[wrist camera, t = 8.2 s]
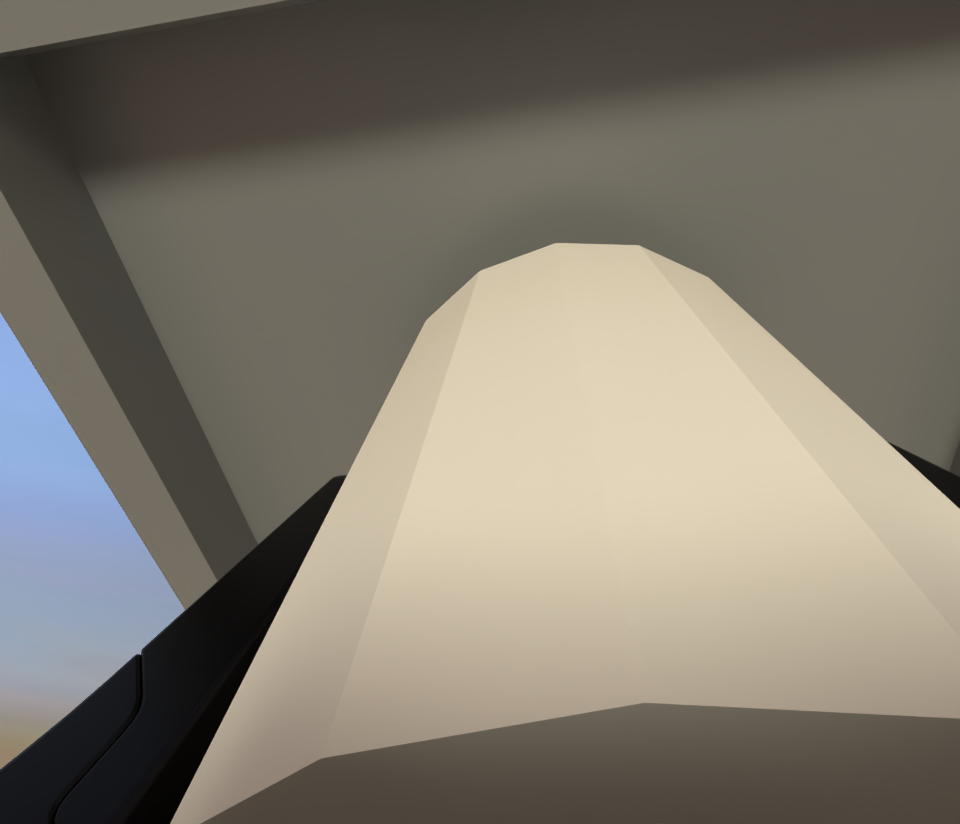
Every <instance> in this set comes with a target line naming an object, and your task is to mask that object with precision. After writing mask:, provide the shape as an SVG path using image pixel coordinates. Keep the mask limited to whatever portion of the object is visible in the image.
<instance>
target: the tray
mask: <svg viewBox="0 0 960 824" xmlns="http://www.w3.org/2000/svg"><path fill="white" fill-rule="evenodd" d="M554 243H578V244H614V245H639V246H642V247H644V248H646V249H648V250H650V251H652V252H655V253H657V254H659V255H661V256H663V257H665V258H668V259H670V260H672V261H674V262H676V263H678V264H681V265H683V266H685V267H687V268H689V269H691V270H694V271H696V272H698V273H700V274H702V275H704V276H707V277H709V278H710V279H711V280H712V281H713V282H714V283H715V284H716V285H717V286H718V287H720V288H721V289H722V290H723V291H724V292H725V293H726V294H727V295H728V296H729V297H730V298H732V299H733V300H734V301H735V302H736V303H737V304H738V305H739V306H740V307H741V308H742V309H743V310H745V311H746V312H747V313H748V314H749V315H750V316H751V317H752V318H753V319H754V320H755V321H756V322H758V323H759V324H760V325H761V326H762V327H763V328H764V329H765V330H766V331H767V332H768V333H769V334H771V335H772V336H773V337H774V338H775V339H776V340H777V341H778V342H779V343H780V344H781V345H782V346H784V347H785V348H786V349H787V350H788V351H789V352H790V353H791V354H792V355H793V356H794V357H795V358H797V359H798V360H799V361H800V362H801V363H802V364H803V365H804V366H805V367H806V368H807V369H808V370H810V371H811V372H812V373H813V374H814V375H815V376H816V377H817V378H818V379H819V380H820V381H821V382H823V383H824V384H825V385H826V386H827V387H828V388H829V389H830V390H831V391H832V392H833V393H834V394H836V395H837V396H838V397H839V398H840V399H841V400H842V401H843V402H844V403H845V404H846V405H847V406H849V407H850V408H851V409H852V410H853V411H854V412H855V413H856V414H857V415H858V416H859V417H861V418H862V419H863V420H864V421H865V422H866V423H867V424H868V425H869V426H870V427H871V428H872V429H874V430H875V431H876V432H877V433H878V434H879V435H880V436H881V437H882V438H883V439H884V440H886V441H888V442H890V443H892V444H894V445H896V446H898V447H900V448H902V449H904V450H906V451H908V452H910V453H912V454H914V455H916V456H919V457H921V458H923V459H925V460H927V461H929V462H931V463H933V464H935V465H937V466H939V467H941V468H943V469H945V470H947V471H949V472H951V473H953V474H955V475H957V476H959V477H960V0H0V312H1V314H2V316H3V317H4V319H5V320H6V322H7V324H8V325H9V327H10V328H11V330H12V332H13V333H14V335H15V336H16V338H17V340H18V341H19V343H20V344H21V346H22V348H23V349H24V351H25V353H26V354H27V356H28V357H29V359H30V361H31V362H32V364H33V365H34V367H35V369H36V370H37V372H38V373H39V375H40V377H41V378H42V380H43V382H44V383H45V385H46V386H47V388H48V390H49V391H50V393H51V394H52V396H53V398H54V399H55V401H56V402H57V404H58V406H59V407H60V409H61V411H62V412H63V414H64V415H65V417H66V419H67V420H68V422H69V423H70V425H71V427H72V428H73V430H74V431H75V433H76V435H77V436H78V438H79V440H80V441H81V443H82V444H83V446H84V448H85V449H86V451H87V452H88V454H89V456H90V457H91V459H92V460H93V462H94V464H95V465H96V467H97V469H98V470H99V472H100V473H101V475H102V477H103V478H104V480H105V481H106V483H107V485H108V486H109V488H110V489H111V491H112V493H113V494H114V496H115V498H116V499H117V501H118V502H119V504H120V506H121V507H122V509H123V510H124V512H125V514H126V515H127V517H128V518H129V520H130V522H131V523H132V525H133V527H134V528H135V530H136V531H137V533H138V535H139V536H140V538H141V539H142V541H143V543H144V544H145V546H146V547H147V549H148V551H149V552H150V554H151V555H152V557H153V559H154V560H155V562H156V564H157V565H158V567H159V568H160V570H161V572H162V573H163V575H164V576H165V578H166V580H167V581H168V583H169V584H170V586H171V588H172V589H173V591H174V593H175V594H176V596H177V597H178V599H179V601H180V602H181V604H182V605H183V607H184V609H185V610H186V609H187V608H188V607H189V606H191V605H192V604H193V603H194V602H195V601H196V600H197V599H198V598H199V597H201V596H202V595H203V594H204V593H205V592H206V591H207V590H208V589H209V588H211V587H212V586H213V585H214V584H215V583H216V582H217V581H218V580H219V579H221V578H222V577H223V576H224V575H225V574H226V573H227V572H228V571H229V570H231V569H232V568H233V567H234V566H235V565H236V564H237V563H238V562H239V561H240V560H242V559H243V558H244V557H245V556H246V555H247V554H248V553H249V552H250V551H252V550H253V549H254V548H255V547H256V546H257V545H258V544H259V543H260V542H262V541H263V540H264V539H265V538H266V537H267V536H268V535H269V534H270V533H272V532H273V531H274V530H275V529H276V528H277V527H278V526H279V525H280V524H282V523H283V522H284V521H285V520H286V519H287V518H288V517H289V516H290V515H292V514H293V513H294V512H295V511H296V510H297V509H298V508H299V507H300V506H301V505H303V504H304V503H305V502H306V501H307V500H308V499H309V498H310V497H311V496H313V495H314V494H315V493H316V492H317V491H318V490H319V489H320V488H321V487H323V486H324V485H325V484H326V483H327V482H328V481H329V480H330V479H332V478H333V477H335V476H340V475H348V473H349V471H350V469H351V467H352V465H353V463H354V461H355V459H356V457H357V455H358V453H359V451H360V449H361V447H362V445H363V443H364V441H365V439H366V437H367V435H368V433H369V431H370V429H371V427H372V426H373V424H374V422H375V420H376V418H377V416H378V414H379V412H380V410H381V408H382V406H383V404H384V402H385V400H386V398H387V396H388V394H389V392H390V390H391V388H392V386H393V384H394V382H395V380H396V378H397V376H398V374H399V372H400V370H401V368H402V366H403V365H404V363H405V361H406V359H407V357H408V355H409V353H410V351H411V349H412V347H413V345H414V343H415V341H416V339H417V337H418V335H419V333H420V331H421V329H422V327H423V325H424V323H425V321H426V320H427V319H428V318H429V317H430V316H431V315H432V314H433V313H435V312H436V311H437V310H438V309H439V308H440V307H441V306H442V305H443V304H444V303H445V302H447V301H448V300H449V299H450V298H451V297H452V296H453V295H454V294H455V293H456V292H457V291H458V290H460V289H461V288H462V287H463V286H464V285H465V284H466V283H467V282H468V281H469V280H470V279H472V278H473V277H474V276H475V275H476V274H477V273H478V272H479V271H481V270H483V269H486V268H489V267H492V266H494V265H497V264H500V263H503V262H505V261H508V260H511V259H513V258H516V257H519V256H522V255H524V254H527V253H530V252H533V251H535V250H538V249H541V248H543V247H546V246H549V245H552V244H554Z"/></svg>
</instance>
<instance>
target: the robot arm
mask: <svg viewBox="0 0 960 824" xmlns="http://www.w3.org/2000/svg"><path fill="white" fill-rule="evenodd" d="M885 441H886V440H885ZM887 442H888V441H887ZM888 443H889V444H890V445H891V446H892V447H893V448H894V449H895V450H896V451H897V452H898V453H900V454H901V455H902V456H903V457H904V458H905V459H906V460H907V461H908V462H909V463H910V464H911V465H913V466H914V467H915V468H916V469H917V470H918V471H919V472H920V473H921V474H922V475H923V476H924V477H926V478H927V479H928V480H929V481H930V482H931V483H932V484H933V485H934V486H935V487H936V488H937V489H939V490H940V491H941V492H942V493H943V494H944V495H945V496H946V497H947V498H948V499H949V500H950V501H952V502H953V503H954V504H955V505H956V506H957V507H958V508H959V509H960V477H959V476H957V475H955V474H953V473H951V472H949V471H947V470H945V469H943V468H941V467H939V466H937V465H935V464H933V463H931V462H929V461H927V460H925V459H923V458H921V457H919V456H916V455H914V454H912V453H910V452H908V451H906V450H904V449H902V448H900V447H898V446H896V445H894V444H892V443H890V442H888ZM346 477H347V475H340V476H335V477H333V478H332V479H330V480H329V481H328V482H327V483H326V484H325V485H324V486H323V487H321V488H320V489H319V490H318V491H317V492H316V493H315V494H314V495H313V496H311V497H310V498H309V499H308V500H307V501H306V502H305V503H304V504H303V505H301V506H300V507H299V508H298V509H297V510H296V511H295V512H294V513H293V514H292V515H290V516H289V517H288V518H287V519H286V520H285V521H284V522H283V523H282V524H280V525H279V526H278V527H277V528H276V529H275V530H274V531H273V532H272V533H270V534H269V535H268V536H267V537H266V538H265V539H264V540H263V541H262V542H260V543H259V544H258V545H257V546H256V547H255V548H254V549H253V550H252V551H250V552H249V553H248V554H247V555H246V556H245V557H244V558H243V559H242V560H240V561H239V562H238V563H237V564H236V565H235V566H234V567H233V568H232V569H231V570H229V571H228V572H227V573H226V574H225V575H224V576H223V577H222V578H221V579H219V580H218V581H217V582H216V583H215V584H214V585H213V586H212V587H211V588H209V589H208V590H207V591H206V592H205V593H204V594H203V595H202V596H201V597H199V598H198V599H197V600H196V601H195V602H194V603H193V604H192V605H191V606H189V607H188V608H187V609H186V610H185V611H184V612H183V613H182V614H181V615H179V616H178V617H177V618H176V619H175V620H174V621H173V622H172V623H171V624H169V625H168V626H167V627H166V628H165V629H164V630H163V631H162V632H161V633H159V634H158V635H157V636H156V637H155V638H154V639H153V640H152V641H151V642H149V643H148V644H147V645H146V646H145V647H144V648H143V649H142V651H141V655H140V654H137V655H135V656H134V657H133V658H132V659H130V660H129V661H128V662H127V663H126V664H125V665H124V666H123V667H122V668H120V669H119V670H118V671H117V672H116V673H115V674H114V675H113V676H112V677H110V678H109V679H108V680H107V681H106V682H105V683H104V684H102V685H101V686H100V687H99V688H98V689H97V690H96V691H94V692H93V693H92V694H91V695H90V696H89V697H87V698H86V699H85V700H84V701H83V702H82V703H81V704H79V705H78V706H77V707H76V708H75V709H74V710H73V711H71V712H70V713H69V714H68V715H67V716H66V717H64V718H63V719H62V720H61V721H59V722H58V723H57V724H56V725H55V726H53V727H52V728H51V729H50V730H48V731H47V732H46V733H45V734H44V735H42V736H41V737H40V738H39V739H37V740H36V741H35V742H34V743H33V744H31V745H30V746H29V747H28V748H26V749H25V750H24V751H23V752H22V753H20V754H19V755H18V756H17V757H15V758H14V759H13V760H12V761H10V762H9V763H8V764H7V765H6V766H4V767H3V768H2V769H0V824H170V823H171V821H172V819H173V817H174V815H175V813H176V811H177V809H178V807H179V805H180V803H181V801H182V799H183V797H184V795H185V793H186V791H187V789H188V787H189V786H190V784H191V782H192V780H193V778H194V776H195V774H196V772H197V770H198V768H199V766H200V764H201V762H202V760H203V758H204V756H205V754H206V752H207V750H208V748H209V746H210V744H211V742H212V740H213V738H214V736H215V734H216V732H217V730H218V728H219V726H220V725H221V723H222V721H223V719H224V717H225V715H226V713H227V711H228V709H229V707H230V705H231V703H232V701H233V699H234V697H235V695H236V693H237V691H238V689H239V687H240V685H241V683H242V681H243V679H244V677H245V675H246V673H247V671H248V669H249V667H250V666H251V664H252V662H253V660H254V658H255V656H256V654H257V652H258V650H259V648H260V646H261V644H262V642H263V640H264V638H265V636H266V634H267V632H268V630H269V628H270V626H271V624H272V622H273V620H274V618H275V616H276V614H277V612H278V610H279V608H280V606H281V605H282V603H283V601H284V599H285V597H286V595H287V593H288V591H289V589H290V587H291V585H292V583H293V581H294V579H295V577H296V575H297V573H298V571H299V569H300V567H301V565H302V563H303V561H304V559H305V557H306V555H307V553H308V551H309V549H310V547H311V546H312V544H313V542H314V540H315V538H316V536H317V534H318V532H319V530H320V528H321V526H322V524H323V522H324V520H325V518H326V516H327V514H328V512H329V510H330V508H331V506H332V504H333V502H334V500H335V498H336V496H337V494H338V492H339V490H340V488H341V486H342V485H343V483H344V481H345V479H346Z"/></svg>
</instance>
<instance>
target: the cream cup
mask: <svg viewBox="0 0 960 824" xmlns="http://www.w3.org/2000/svg"><path fill="white" fill-rule="evenodd" d="M170 824H960V509H959V508H958V507H957V506H956V505H955V504H954V503H953V502H952V501H950V500H949V499H948V498H947V497H946V496H945V495H944V494H943V493H942V492H941V491H940V490H939V489H937V488H936V487H935V486H934V485H933V484H932V483H931V482H930V481H929V480H928V479H927V478H926V477H924V476H923V475H922V474H921V473H920V472H919V471H918V470H917V469H916V468H915V467H914V466H913V465H911V464H910V463H909V462H908V461H907V460H906V459H905V458H904V457H903V456H902V455H901V454H900V453H898V452H897V451H896V450H895V449H894V448H893V447H892V446H891V445H890V444H889V443H888V442H887V441H885V440H884V439H883V438H882V437H881V436H880V435H879V434H878V433H877V432H876V431H875V430H874V429H872V428H871V427H870V426H869V425H868V424H867V423H866V422H865V421H864V420H863V419H862V418H861V417H859V416H858V415H857V414H856V413H855V412H854V411H853V410H852V409H851V408H850V407H849V406H847V405H846V404H845V403H844V402H843V401H842V400H841V399H840V398H839V397H838V396H837V395H836V394H834V393H833V392H832V391H831V390H830V389H829V388H828V387H827V386H826V385H825V384H824V383H823V382H821V381H820V380H819V379H818V378H817V377H816V376H815V375H814V374H813V373H812V372H811V371H810V370H808V369H807V368H806V367H805V366H804V365H803V364H802V363H801V362H800V361H799V360H798V359H797V358H795V357H794V356H793V355H792V354H791V353H790V352H789V351H788V350H787V349H786V348H785V347H784V346H782V345H781V344H780V343H779V342H778V341H777V340H776V339H775V338H774V337H773V336H772V335H771V334H769V333H768V332H767V331H766V330H765V329H764V328H763V327H762V326H761V325H760V324H759V323H758V322H756V321H755V320H754V319H753V318H752V317H751V316H750V315H749V314H748V313H747V312H746V311H745V310H743V309H742V308H741V307H740V306H739V305H738V304H737V303H736V302H735V301H734V300H733V299H732V298H730V297H729V296H728V295H727V294H726V293H725V292H724V291H723V290H722V289H721V288H720V287H718V286H717V285H716V284H715V283H714V282H713V281H712V280H711V279H710V278H709V277H707V276H704V275H702V274H700V273H698V272H696V271H694V270H691V269H689V268H687V267H685V266H683V265H681V264H678V263H676V262H674V261H672V260H670V259H668V258H665V257H663V256H661V255H659V254H657V253H655V252H652V251H650V250H648V249H646V248H644V247H642V246H639V245H614V244H578V243H554V244H552V245H549V246H546V247H543V248H541V249H538V250H535V251H533V252H530V253H527V254H524V255H522V256H519V257H516V258H513V259H511V260H508V261H505V262H503V263H500V264H497V265H494V266H492V267H489V268H486V269H483V270H481V271H479V272H478V273H477V274H476V275H475V276H474V277H473V278H472V279H470V280H469V281H468V282H467V283H466V284H465V285H464V286H463V287H462V288H461V289H460V290H458V291H457V292H456V293H455V294H454V295H453V296H452V297H451V298H450V299H449V300H448V301H447V302H445V303H444V304H443V305H442V306H441V307H440V308H439V309H438V310H437V311H436V312H435V313H433V314H432V315H431V316H430V317H429V318H428V319H427V320H426V321H425V323H424V325H423V327H422V329H421V331H420V333H419V335H418V337H417V339H416V341H415V343H414V345H413V347H412V349H411V351H410V353H409V355H408V357H407V359H406V361H405V363H404V365H403V366H402V368H401V370H400V372H399V374H398V376H397V378H396V380H395V382H394V384H393V386H392V388H391V390H390V392H389V394H388V396H387V398H386V400H385V402H384V404H383V406H382V408H381V410H380V412H379V414H378V416H377V418H376V420H375V422H374V424H373V426H372V427H371V429H370V431H369V433H368V435H367V437H366V439H365V441H364V443H363V445H362V447H361V449H360V451H359V453H358V455H357V457H356V459H355V461H354V463H353V465H352V467H351V469H350V471H349V473H348V475H347V477H346V479H345V481H344V483H343V485H342V486H341V488H340V490H339V492H338V494H337V496H336V498H335V500H334V502H333V504H332V506H331V508H330V510H329V512H328V514H327V516H326V518H325V520H324V522H323V524H322V526H321V528H320V530H319V532H318V534H317V536H316V538H315V540H314V542H313V544H312V546H311V547H310V549H309V551H308V553H307V555H306V557H305V559H304V561H303V563H302V565H301V567H300V569H299V571H298V573H297V575H296V577H295V579H294V581H293V583H292V585H291V587H290V589H289V591H288V593H287V595H286V597H285V599H284V601H283V603H282V605H281V606H280V608H279V610H278V612H277V614H276V616H275V618H274V620H273V622H272V624H271V626H270V628H269V630H268V632H267V634H266V636H265V638H264V640H263V642H262V644H261V646H260V648H259V650H258V652H257V654H256V656H255V658H254V660H253V662H252V664H251V666H250V667H249V669H248V671H247V673H246V675H245V677H244V679H243V681H242V683H241V685H240V687H239V689H238V691H237V693H236V695H235V697H234V699H233V701H232V703H231V705H230V707H229V709H228V711H227V713H226V715H225V717H224V719H223V721H222V723H221V725H220V726H219V728H218V730H217V732H216V734H215V736H214V738H213V740H212V742H211V744H210V746H209V748H208V750H207V752H206V754H205V756H204V758H203V760H202V762H201V764H200V766H199V768H198V770H197V772H196V774H195V776H194V778H193V780H192V782H191V784H190V786H189V787H188V789H187V791H186V793H185V795H184V797H183V799H182V801H181V803H180V805H179V807H178V809H177V811H176V813H175V815H174V817H173V819H172V821H171V823H170Z"/></svg>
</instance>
